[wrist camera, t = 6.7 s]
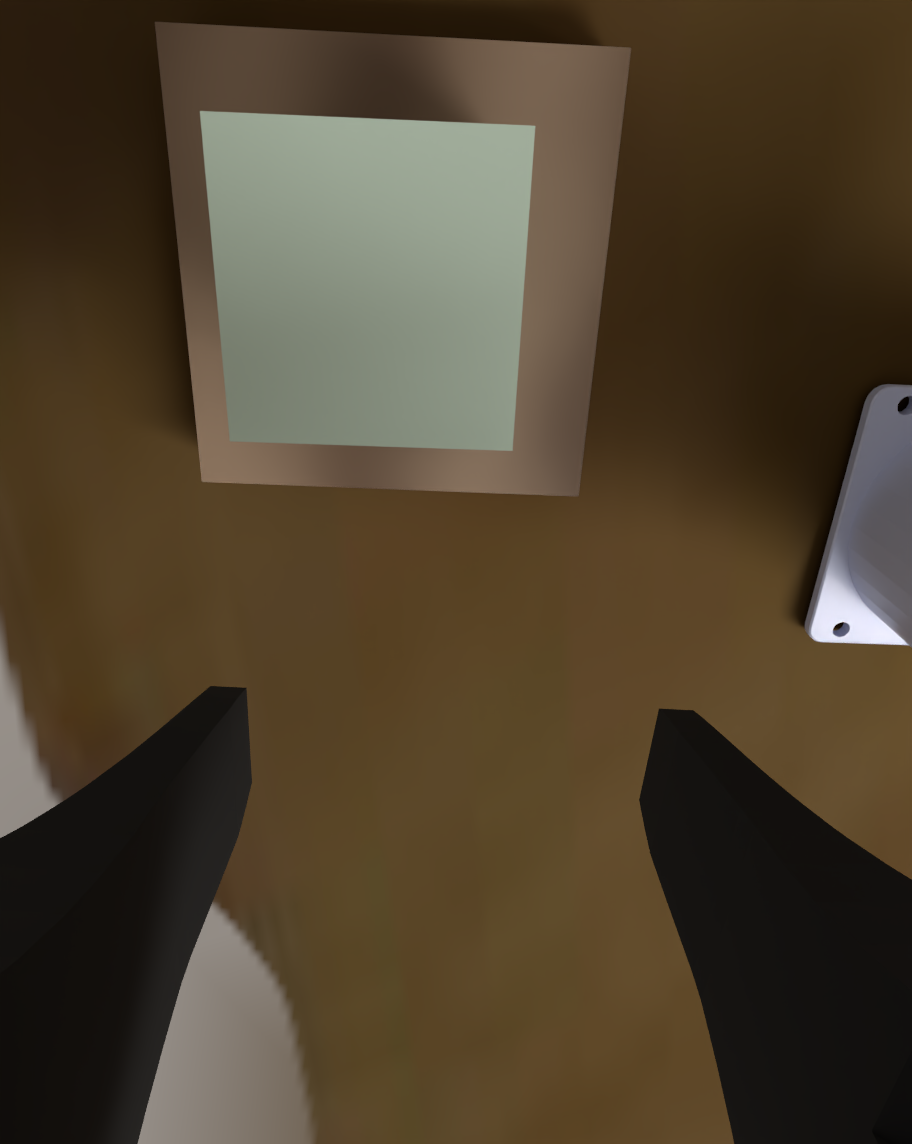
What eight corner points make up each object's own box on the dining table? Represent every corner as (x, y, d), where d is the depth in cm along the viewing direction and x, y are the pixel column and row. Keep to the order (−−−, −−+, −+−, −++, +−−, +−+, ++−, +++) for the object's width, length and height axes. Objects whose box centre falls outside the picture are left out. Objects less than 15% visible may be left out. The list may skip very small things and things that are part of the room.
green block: (507, 159, 17) (535, 125, 11) (493, 386, 19) (512, 451, 13) (281, 150, 17) (199, 111, 11) (294, 379, 19) (229, 441, 13)
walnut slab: (612, 66, 18) (631, 47, 16) (567, 474, 22) (578, 496, 20) (185, 43, 17) (154, 21, 16) (223, 460, 22) (201, 481, 20)
